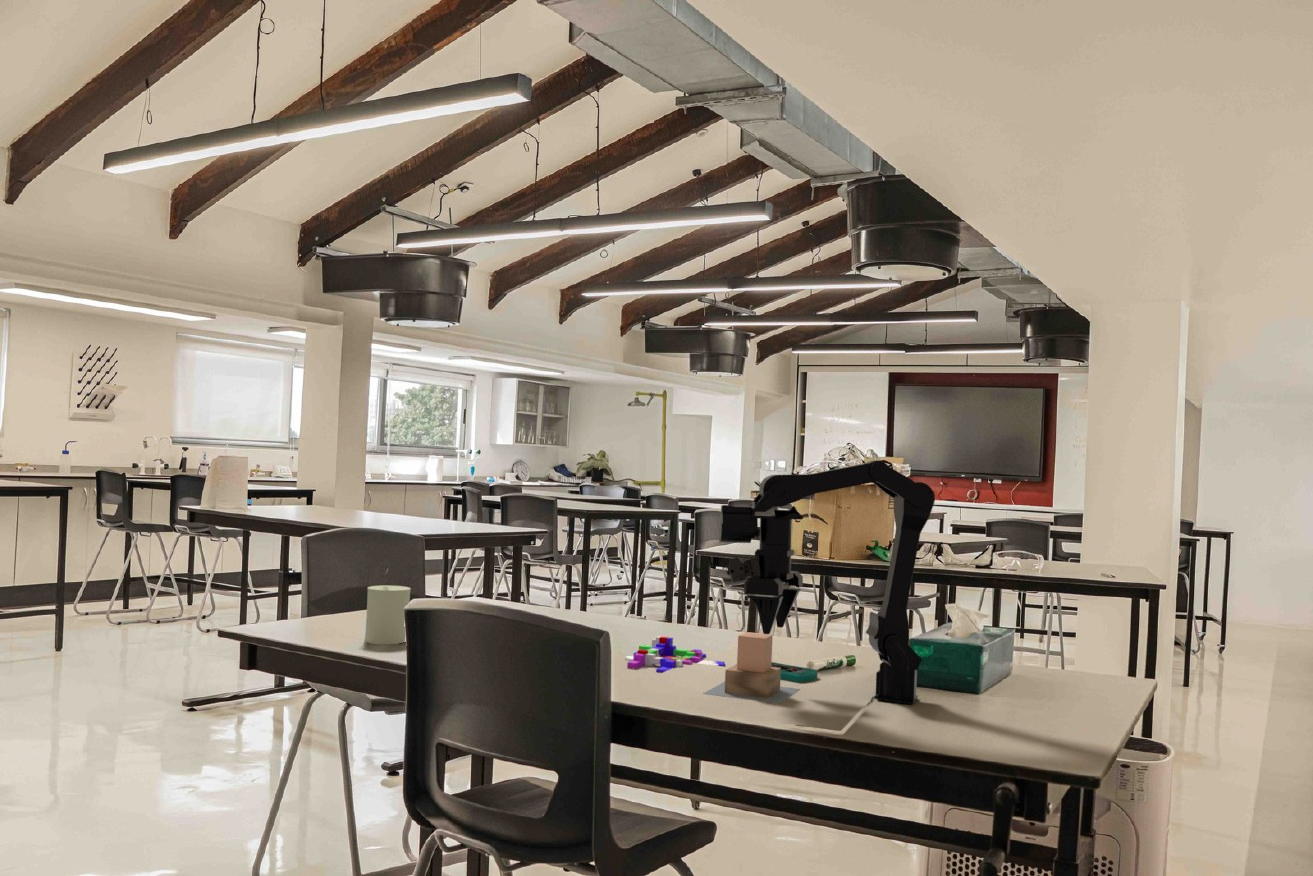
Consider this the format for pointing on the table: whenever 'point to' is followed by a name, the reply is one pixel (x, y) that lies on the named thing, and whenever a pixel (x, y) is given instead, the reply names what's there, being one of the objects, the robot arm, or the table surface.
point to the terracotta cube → (754, 652)
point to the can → (386, 614)
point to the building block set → (666, 656)
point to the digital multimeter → (796, 673)
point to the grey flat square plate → (775, 698)
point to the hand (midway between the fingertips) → (773, 630)
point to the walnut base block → (752, 682)
